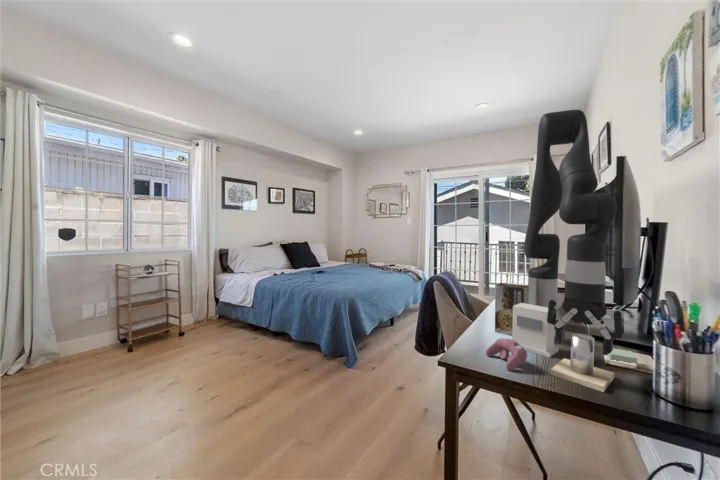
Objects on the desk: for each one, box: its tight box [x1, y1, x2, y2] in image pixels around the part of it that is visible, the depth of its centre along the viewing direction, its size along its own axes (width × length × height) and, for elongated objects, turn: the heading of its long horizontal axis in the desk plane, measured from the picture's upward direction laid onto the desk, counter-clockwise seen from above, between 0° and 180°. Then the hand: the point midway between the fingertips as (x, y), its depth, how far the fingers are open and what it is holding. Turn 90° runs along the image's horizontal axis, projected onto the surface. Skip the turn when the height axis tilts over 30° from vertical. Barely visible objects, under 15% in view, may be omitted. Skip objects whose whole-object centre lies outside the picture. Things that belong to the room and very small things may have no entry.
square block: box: [608, 348, 638, 365], centre depth 76 cm, size 5×5×3 cm
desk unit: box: [511, 303, 560, 359], centre depth 86 cm, size 7×11×12 cm, turn 39°
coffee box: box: [494, 282, 529, 336], centre depth 99 cm, size 9×6×16 cm
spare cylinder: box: [569, 333, 596, 375], centre depth 69 cm, size 4×4×8 cm
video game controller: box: [485, 337, 528, 371], centre depth 77 cm, size 10×5×7 cm, turn 10°
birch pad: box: [549, 357, 615, 393], centre depth 69 cm, size 10×10×1 cm
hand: (582, 348), depth 69 cm, fingers open, 8 cm apart
